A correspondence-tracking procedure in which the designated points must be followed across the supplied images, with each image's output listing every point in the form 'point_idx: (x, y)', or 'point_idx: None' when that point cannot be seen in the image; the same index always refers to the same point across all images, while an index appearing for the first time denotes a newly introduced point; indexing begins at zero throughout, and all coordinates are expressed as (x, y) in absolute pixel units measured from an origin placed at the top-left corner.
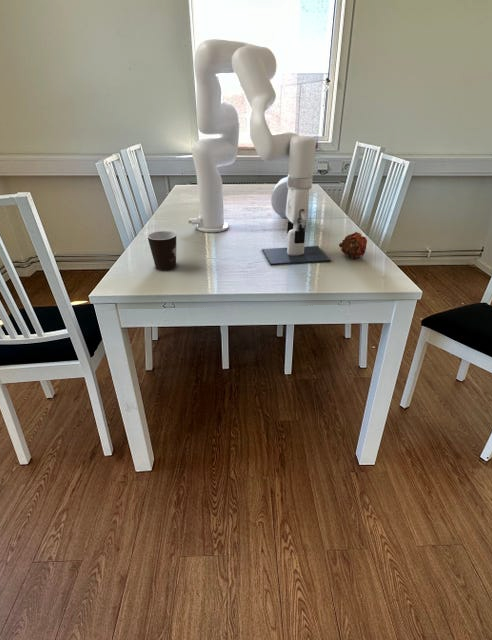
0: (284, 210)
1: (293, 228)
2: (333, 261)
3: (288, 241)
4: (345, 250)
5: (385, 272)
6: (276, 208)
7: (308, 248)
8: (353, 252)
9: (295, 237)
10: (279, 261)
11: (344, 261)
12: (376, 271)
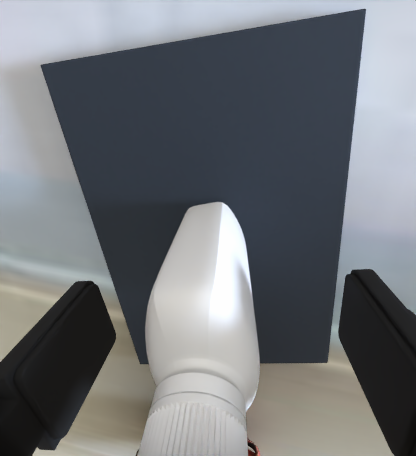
0: None
1: (361, 354)
2: (147, 366)
3: (187, 240)
4: None
5: (72, 447)
6: None
7: (297, 321)
8: (137, 452)
9: (46, 318)
10: (87, 134)
11: (150, 394)
12: (74, 435)
